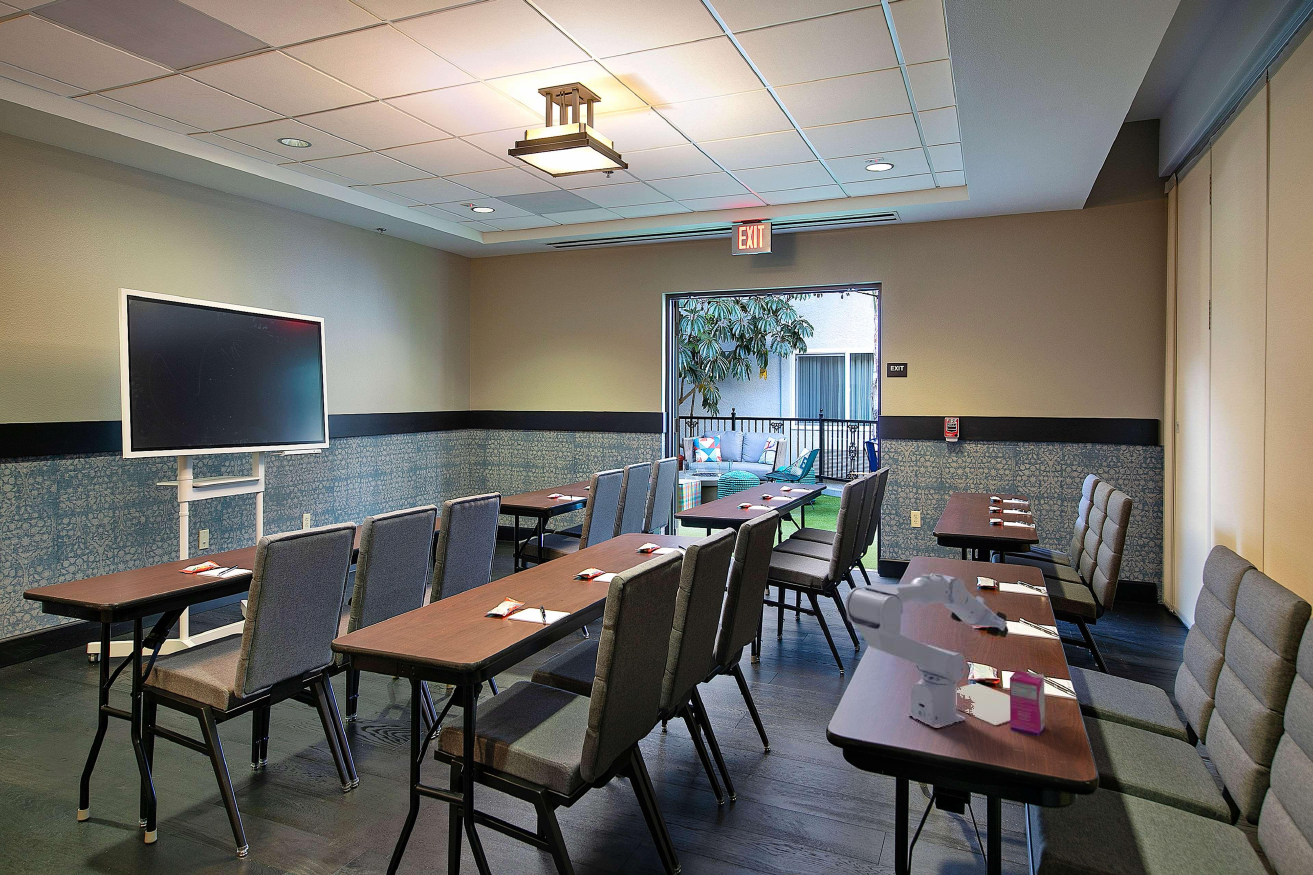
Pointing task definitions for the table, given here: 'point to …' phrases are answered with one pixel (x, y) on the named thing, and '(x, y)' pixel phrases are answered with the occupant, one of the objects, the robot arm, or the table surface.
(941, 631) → the table surface
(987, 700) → the grey mat
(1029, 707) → the supplement box
